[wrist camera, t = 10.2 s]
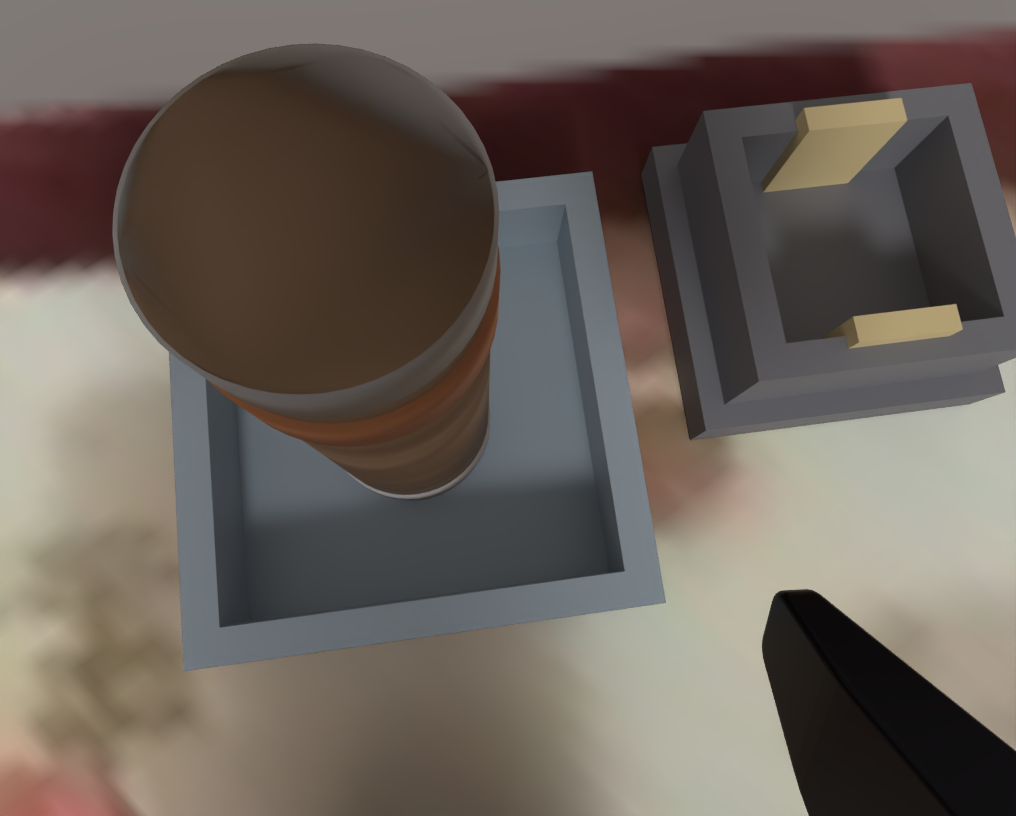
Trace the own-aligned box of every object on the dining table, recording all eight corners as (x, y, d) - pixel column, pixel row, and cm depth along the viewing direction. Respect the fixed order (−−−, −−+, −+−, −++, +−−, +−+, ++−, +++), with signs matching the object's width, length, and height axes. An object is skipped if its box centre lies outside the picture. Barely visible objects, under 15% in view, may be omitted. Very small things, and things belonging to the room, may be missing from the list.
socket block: (969, 404, 21) (1096, 361, 17) (690, 440, 21) (745, 406, 16) (902, 146, 23) (1001, 46, 19) (641, 174, 22) (679, 78, 18)
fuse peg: (440, 532, 19) (373, 479, 8) (299, 451, 20) (26, 279, 8) (520, 392, 20) (572, 148, 8) (384, 316, 20) (250, -20, 9)
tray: (638, 597, 20) (665, 602, 17) (229, 655, 19) (183, 671, 16) (577, 223, 22) (592, 171, 19) (206, 265, 21) (162, 217, 18)
